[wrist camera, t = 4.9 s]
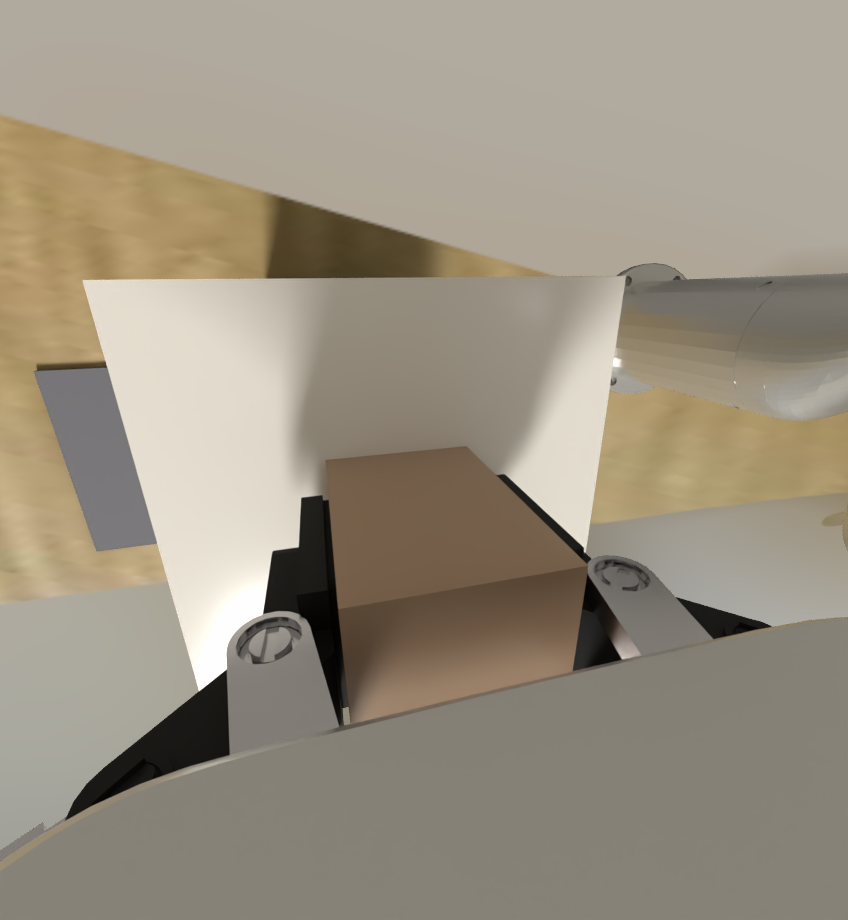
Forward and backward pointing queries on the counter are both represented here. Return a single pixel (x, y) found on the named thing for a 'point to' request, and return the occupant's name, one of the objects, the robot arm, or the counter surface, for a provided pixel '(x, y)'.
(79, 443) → the mat
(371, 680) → the lid
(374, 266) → the counter surface
